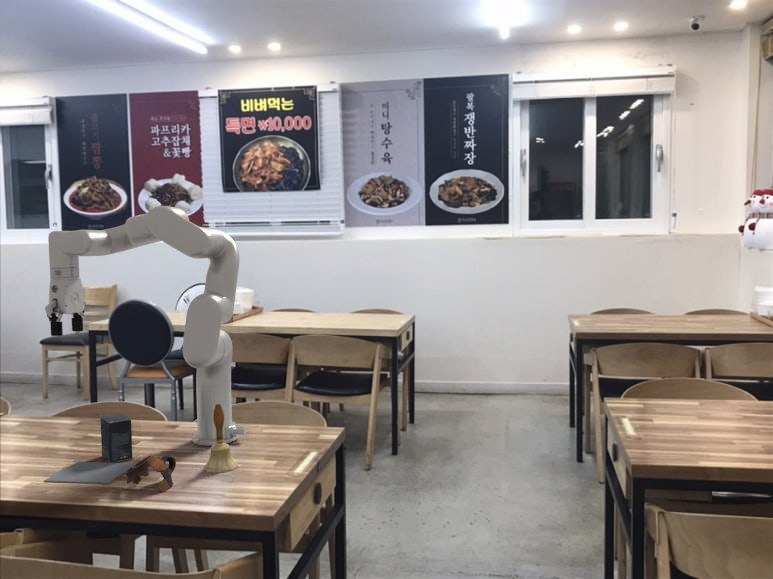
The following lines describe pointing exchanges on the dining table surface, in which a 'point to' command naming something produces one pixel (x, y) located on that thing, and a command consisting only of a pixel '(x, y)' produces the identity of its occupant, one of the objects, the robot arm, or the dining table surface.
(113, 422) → the box
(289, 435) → the dining table surface
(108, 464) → the mat
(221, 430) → the hand bell
